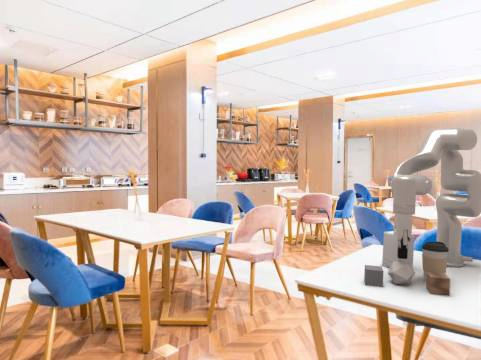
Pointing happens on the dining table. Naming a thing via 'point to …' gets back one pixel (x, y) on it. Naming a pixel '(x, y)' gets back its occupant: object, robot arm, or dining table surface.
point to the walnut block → (438, 284)
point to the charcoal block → (373, 276)
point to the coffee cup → (434, 258)
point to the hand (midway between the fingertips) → (402, 258)
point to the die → (401, 273)
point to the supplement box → (395, 250)
